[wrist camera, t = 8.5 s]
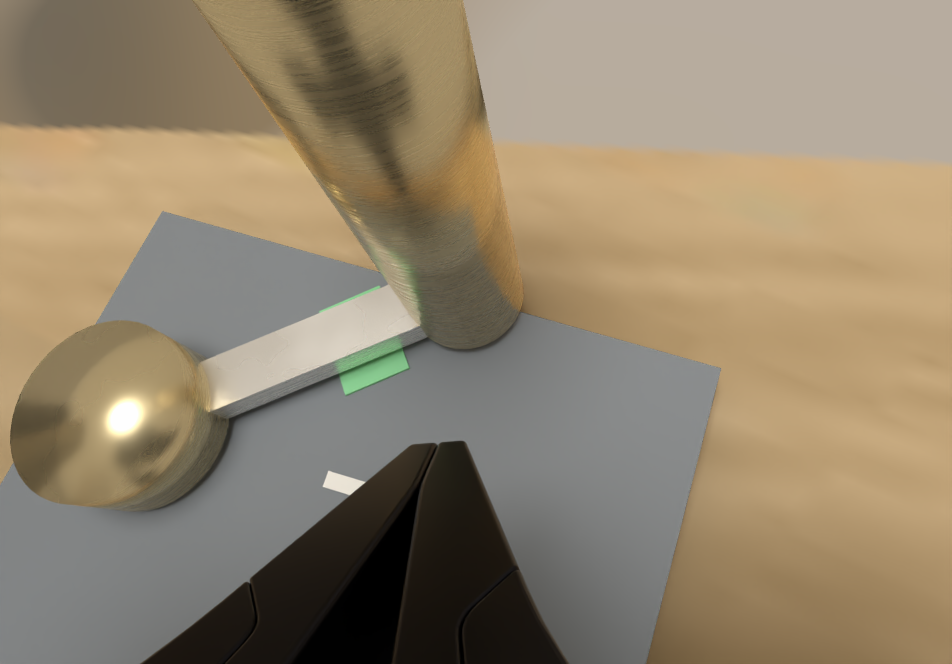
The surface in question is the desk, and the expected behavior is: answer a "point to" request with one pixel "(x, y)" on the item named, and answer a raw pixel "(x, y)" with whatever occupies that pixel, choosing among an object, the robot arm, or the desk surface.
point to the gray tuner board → (367, 463)
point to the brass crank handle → (363, 209)
